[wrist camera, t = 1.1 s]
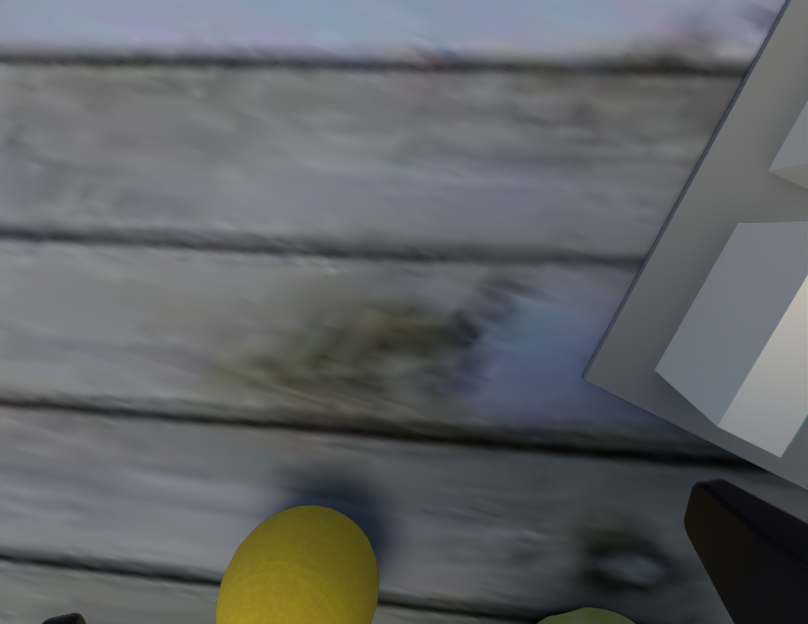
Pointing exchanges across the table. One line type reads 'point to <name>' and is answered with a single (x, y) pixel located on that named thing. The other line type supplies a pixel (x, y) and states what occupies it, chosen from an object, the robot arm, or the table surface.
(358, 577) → the lemon
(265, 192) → the table surface
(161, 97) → the table surface
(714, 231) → the slate mat
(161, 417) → the table surface
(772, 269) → the tile
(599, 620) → the plant pot
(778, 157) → the tile
